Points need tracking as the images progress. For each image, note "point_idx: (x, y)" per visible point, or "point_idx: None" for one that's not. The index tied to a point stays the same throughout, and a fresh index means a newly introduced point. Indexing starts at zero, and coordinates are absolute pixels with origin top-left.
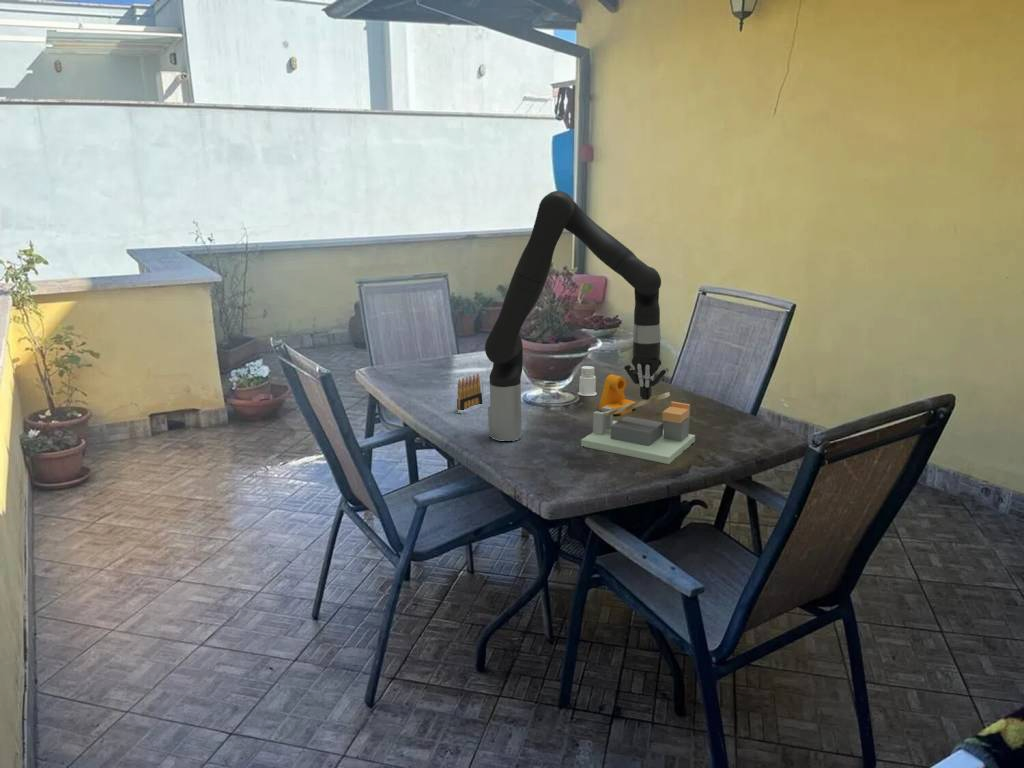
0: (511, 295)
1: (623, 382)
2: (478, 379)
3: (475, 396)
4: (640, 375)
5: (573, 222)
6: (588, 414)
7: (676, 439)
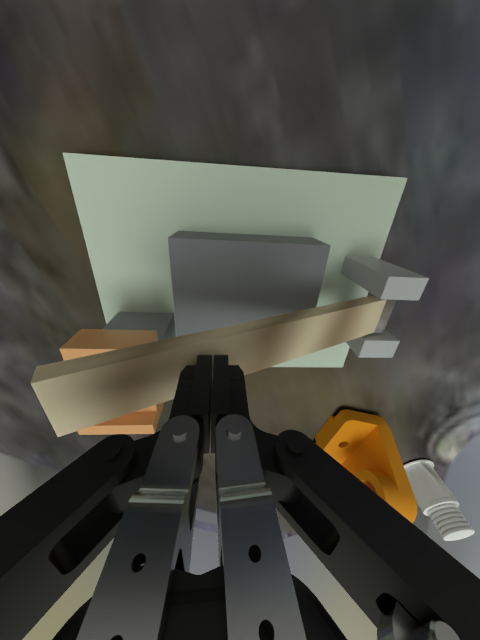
0: None
1: None
2: None
3: None
4: (248, 542)
5: None
6: (400, 393)
7: (133, 313)
